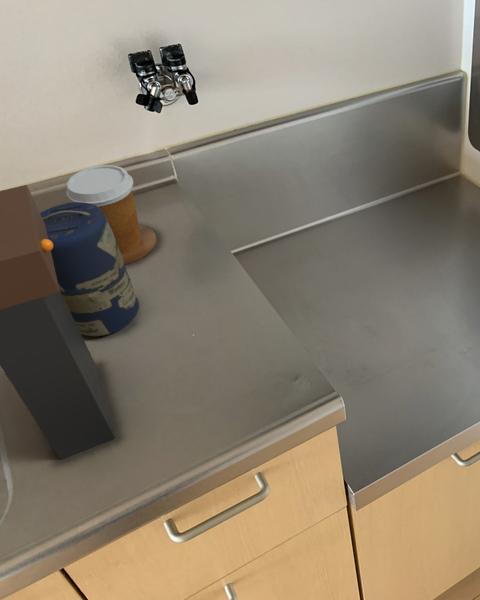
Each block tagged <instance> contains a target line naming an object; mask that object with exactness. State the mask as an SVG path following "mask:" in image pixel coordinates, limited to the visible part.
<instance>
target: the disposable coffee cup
mask: <svg viewBox="0 0 480 600" xmlns="http://www.w3.org/2000/svg"><path fill="white" fill-rule="evenodd" d="M66 188H67V189H66V196H67V198H68V199H69V200H70V201H71V203H72V202H84V203H90V204H93V205H96V206H97V207H99V208H100V209H101V210H102V211H103V212H104V213H105V215H106V217H107V220H108V222H109V225H110V227H111V229H112V232H113V234H114V237H115V240H116V242H117V245H118V247H119V250H120V252H121V254H124V253H127V252H130V251H132V250H134V249H135V248H137V247H138V246H139V245H140V243H141V235H140V230H139V225H140V224H139V218H138V214H137V209H136V203H135V198H134V191H133V189H134V178H133V177H132V176H131V175H130V174H129V173H128V171H127V170H126V169H125V168H123V167H121V166H117V165H112V164H111V165H110V164H103V165H96V166H91V167H88V168H85V169H83V170H80V171H78V172H76V173H75V174H73V175H71V177H70V178H69V179H68V180H67V182H66Z"/></svg>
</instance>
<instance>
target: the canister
mask: <svg viewBox="0 0 480 600" xmlns="http://www.w3.org/2000/svg"><path fill="white" fill-rule="evenodd" d="M40 215H41V217H42V219H43V221H44V223H45V226H46V231H47V236H48V240H50V241H51V242H52V243H53V248H52V250H51V254H52V259H53V263H54V268H55V272H56V277H57V281H58V286H59V290H60V292H61V294H62V296H63V298H64V300H65V302H66V304H67V306H68V308H69V310H70V312H71V315H72V317H73V319H74V321H75V323H76V325H77V327H78V329H79V331H80V333H81V335H82V336H88V337H100V336H102V337H103V336H108V335H110V334H113V333H116V332H118V331H120V330H123V329H124V328H125V327H127V326H128V325H130V323H131V322H132V321H133V320H134V319H135V318H136V317H137V315H138V312H139V309H140V302H139V299H138V296H137V292H136V290H135V288H134V285H133V282H132V280H131V277H130V274H129V271H128V269H127V267H126V265H125V264H124V260H123V257H122V255H121V252H120V250H119V247H118V245H117V242H116V240H115V237H114V234H113V232H112V229H111V227H110V225H109V222H108V220H107V217H106V215H105V213H104V212H103V211H102V210H101V209H100V208H99V207H97V206H96V205H93V204H90V203H84V202H72V201H71V202H67V203H62V204H58V205H55V206H51V207H49V208H47V209H45V210H43V211H41V212H40Z"/></svg>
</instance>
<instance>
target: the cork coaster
mask: <svg viewBox="0 0 480 600" xmlns="http://www.w3.org/2000/svg"><path fill="white" fill-rule="evenodd" d="M139 230H140V235H141V243H140V245H139V246H138V247H137V248H135V249H134V250H132V251H130V252H127V253H124V254H121V255H122V257H123V260H124V264H125V266H126V265H129V264H132V263H135V262H137V261H139V260H142V259H143V258H145V257H146V256H148V255H149V254H150V253H151V252H152V251H154V249H155V247H156V245H157V241H158V239H157V235H156V233H155V232H154V231H153V230H152V229H151V228H149V227H147V226H145V225H144V226H143V225H140V224H139Z"/></svg>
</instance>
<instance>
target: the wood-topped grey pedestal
mask: <svg viewBox="0 0 480 600" xmlns="http://www.w3.org/2000/svg"><path fill="white" fill-rule="evenodd" d="M40 213H41V212H40V210H39V209H38V206H37V204H36V202H35V199H34V197H33V196H32V193H31V191H30V189H29V186H28V185H27V184H23V185H20V186H15V187H11V188H7V189H2V190H0V367H1V369H2V370H3V372H4V373H5V375H6V378H8V380H9V382H10V383H11V385H12V386H13V388H14V389H15V391H16V393H17V394H18V397H20V399H21V401H22V402H23V404H24V405H25V407H26V409H27V410H28V411H29V413H30V414H31V416H32V418H33V419H34V421H35V423H36V424H37V426H38V427H39V429H40V431H41V432H42V434H43V436H44V438H45V439H46V441H48V444H50V446H51V448H52V450H53V451H54V452H55V455H57V458H58V459H59V460H63V459H65V458H68V457H71V456H73V455H75V454H79V453H81V452H84V451H87V450H89V449H91V448H94V447H96V446H100V445H101V444H104V443H108V442H110V441H112V440H114V439H115V437H116V436H115V433H114V429H113V425H112V422H111V417H110V414H109V410H108V409H109V408H108V405H107V401H106V398H105V394H104V390H103V386H102V382H101V378H100V374H99V370H98V366H97V364H96V362H95V360H94V358H93V356H92V354H91V352H90V349H89V348H88V346H87V343H86V342H85V339H84V337H83V334H81V333H80V331H79V329H78V327H77V325H76V323H75V321H74V319H73V317H72V315H71V312H70V310H69V308H68V306H67V304H66V302H65V300H64V298H63V296H62V294H61V292H60V290H59V286H58V281H57V277H56V272H55V268H54V263H53V259H52V254H51V250H52V248H53V243H52V242H51V241H50V240H48V236H47V231H46V226H45V223H44V221H43V219H42V217H41V215H40Z"/></svg>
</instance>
